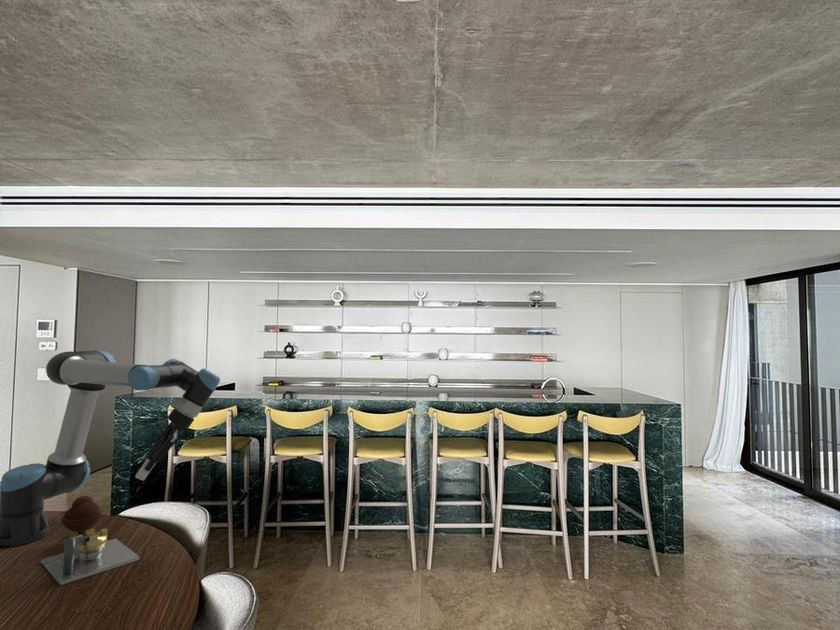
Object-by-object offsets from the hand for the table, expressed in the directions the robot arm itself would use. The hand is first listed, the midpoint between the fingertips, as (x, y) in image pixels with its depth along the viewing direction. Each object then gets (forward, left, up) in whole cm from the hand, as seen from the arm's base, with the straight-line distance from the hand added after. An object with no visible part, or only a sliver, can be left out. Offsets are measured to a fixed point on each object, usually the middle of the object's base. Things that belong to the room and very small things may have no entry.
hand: (139, 478), depth 153 cm
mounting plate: (-4, -11, -23) cm, 26 cm away
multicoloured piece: (-2, -14, -22) cm, 26 cm away
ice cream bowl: (-21, -9, -24) cm, 33 cm away
